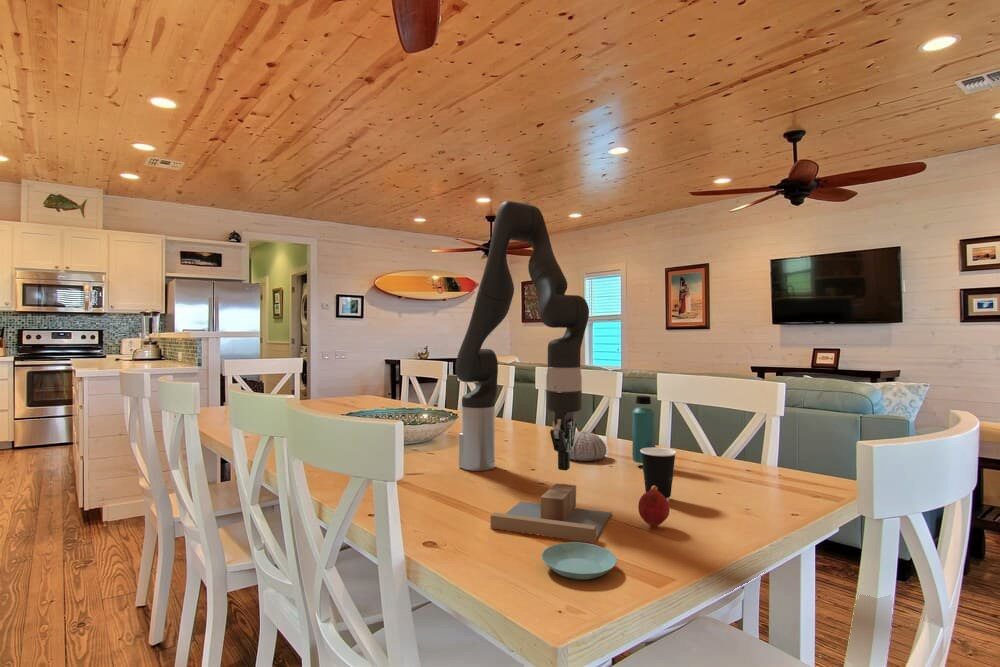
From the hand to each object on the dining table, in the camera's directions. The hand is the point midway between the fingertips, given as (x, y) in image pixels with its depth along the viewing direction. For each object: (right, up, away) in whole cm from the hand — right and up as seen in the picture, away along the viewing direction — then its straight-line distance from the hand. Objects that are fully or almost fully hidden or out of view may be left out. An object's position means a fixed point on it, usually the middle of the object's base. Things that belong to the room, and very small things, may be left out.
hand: (563, 469), depth 116 cm
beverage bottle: (+27, -9, +39) cm, 48 cm away
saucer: (-1, -9, -30) cm, 31 cm away
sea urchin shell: (+12, -9, +49) cm, 51 cm away
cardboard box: (+1, -6, +2) cm, 6 cm away
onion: (+16, -9, -11) cm, 21 cm away
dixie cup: (+22, -9, +7) cm, 25 cm away
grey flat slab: (-3, -9, -7) cm, 11 cm away
